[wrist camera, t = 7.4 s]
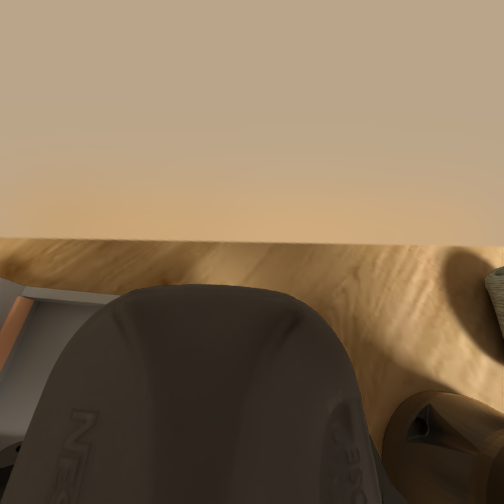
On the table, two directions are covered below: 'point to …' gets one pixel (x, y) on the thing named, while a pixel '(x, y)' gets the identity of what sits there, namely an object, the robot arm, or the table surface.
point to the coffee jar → (199, 407)
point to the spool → (497, 293)
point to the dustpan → (34, 346)
